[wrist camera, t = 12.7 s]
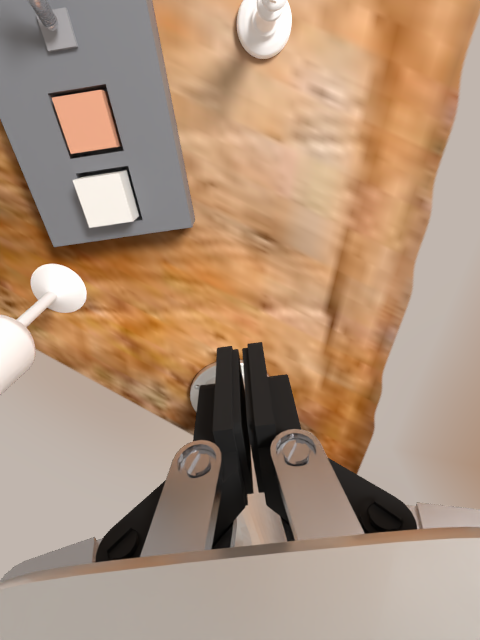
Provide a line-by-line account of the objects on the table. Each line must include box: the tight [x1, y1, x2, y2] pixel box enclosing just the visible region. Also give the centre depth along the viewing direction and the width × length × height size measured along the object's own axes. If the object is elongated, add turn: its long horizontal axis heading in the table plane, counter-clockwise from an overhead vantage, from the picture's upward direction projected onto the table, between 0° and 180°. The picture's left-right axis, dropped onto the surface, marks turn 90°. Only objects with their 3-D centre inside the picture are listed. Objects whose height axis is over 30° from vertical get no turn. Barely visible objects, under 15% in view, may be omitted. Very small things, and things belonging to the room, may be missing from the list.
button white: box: [73, 170, 139, 228], centre depth 33 cm, size 4×4×2 cm
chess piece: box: [237, 0, 292, 59], centre depth 26 cm, size 5×5×10 cm
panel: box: [0, 0, 195, 247], centre depth 32 cm, size 21×15×4 cm
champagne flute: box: [0, 264, 87, 395], centre depth 31 cm, size 7×7×24 cm
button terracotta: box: [52, 90, 122, 154], centre depth 31 cm, size 4×4×2 cm
